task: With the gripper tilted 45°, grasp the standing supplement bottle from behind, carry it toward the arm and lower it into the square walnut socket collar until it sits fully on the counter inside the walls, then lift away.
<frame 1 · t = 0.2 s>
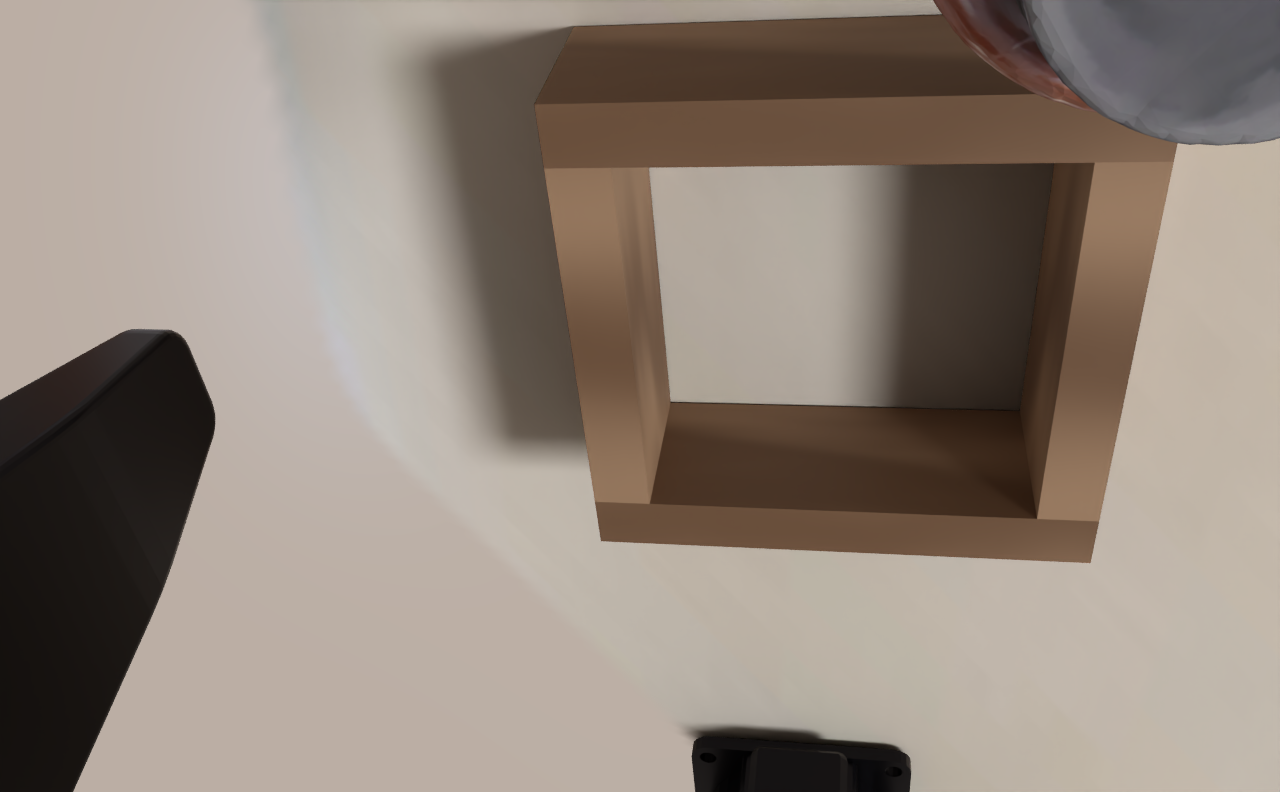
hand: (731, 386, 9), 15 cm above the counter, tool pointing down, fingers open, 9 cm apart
socket collar: (843, 259, 25), on the counter
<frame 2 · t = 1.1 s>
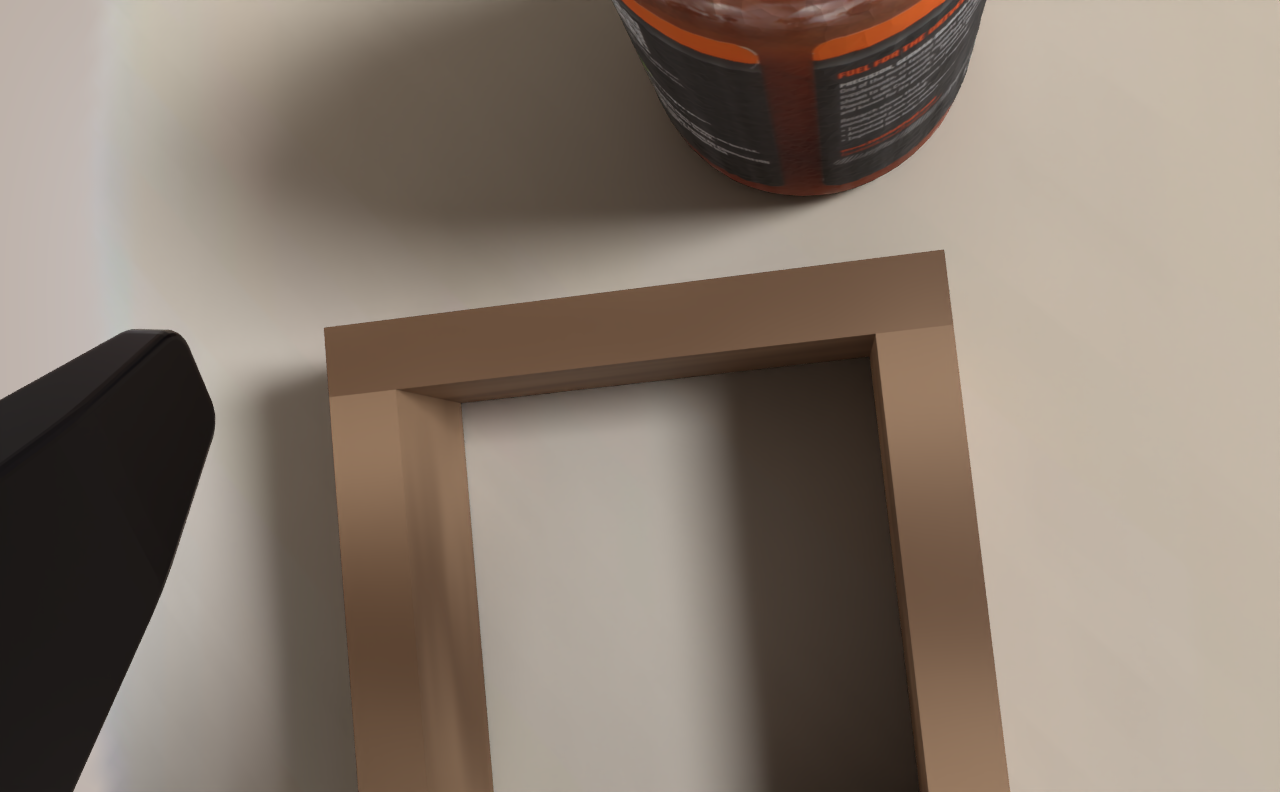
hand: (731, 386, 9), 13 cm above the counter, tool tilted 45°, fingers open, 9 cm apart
supplement bottle: (808, 56, 23), on the counter
socket collar: (680, 589, 22), on the counter
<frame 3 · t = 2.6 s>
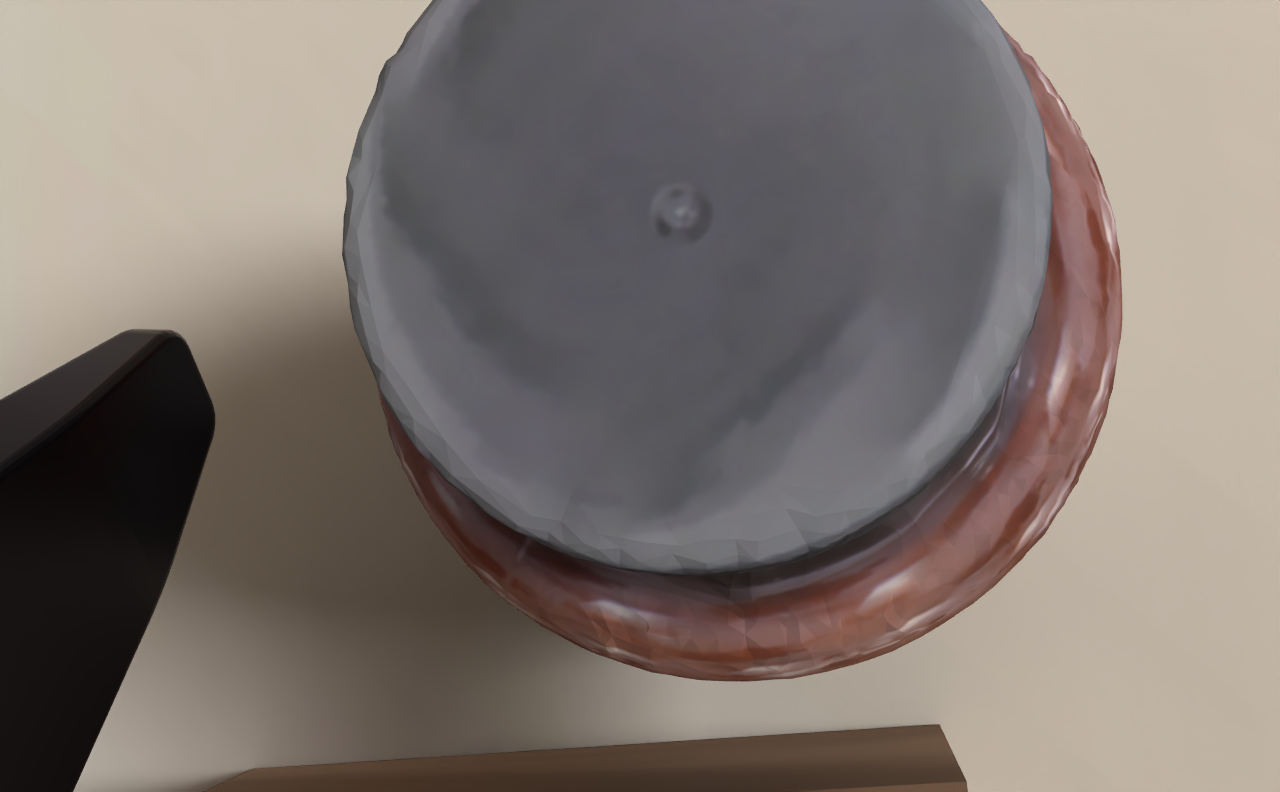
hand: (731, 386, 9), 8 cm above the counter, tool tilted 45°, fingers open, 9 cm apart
supplement bottle: (783, 402, 18), on the counter
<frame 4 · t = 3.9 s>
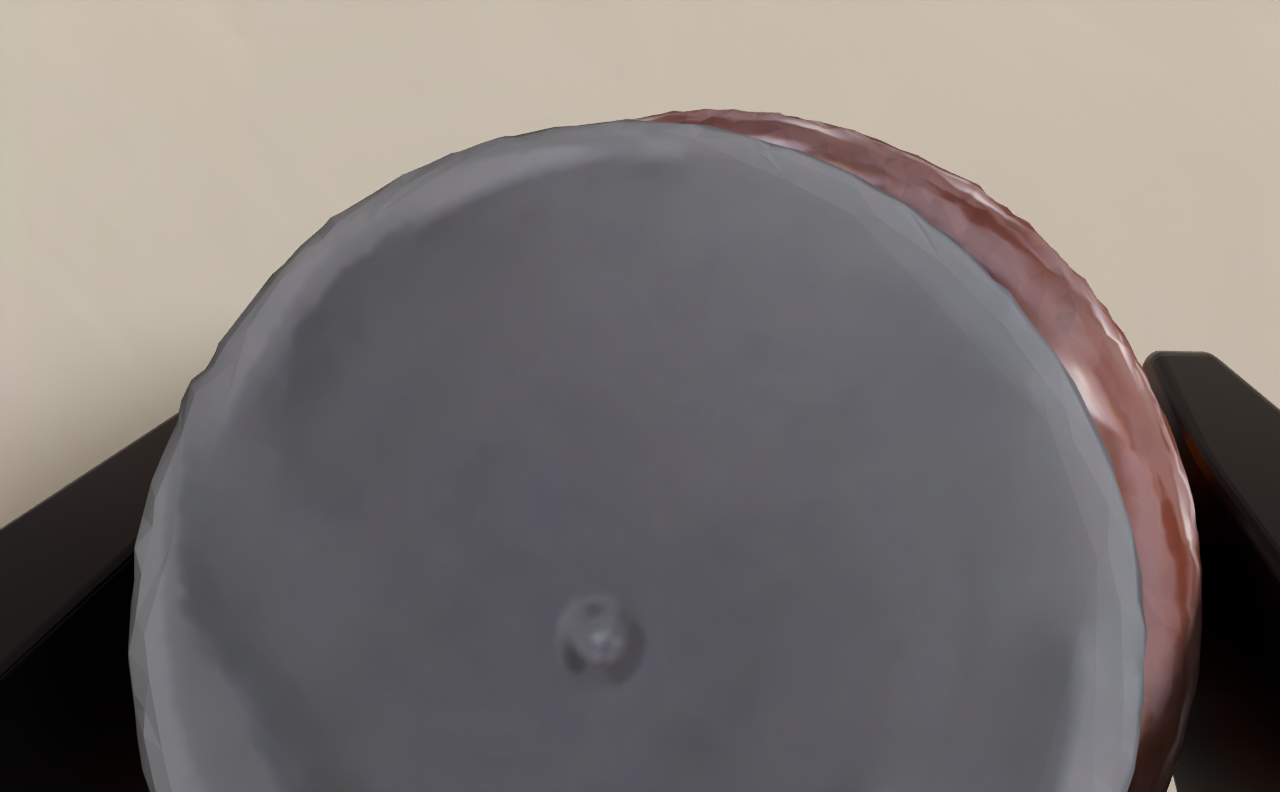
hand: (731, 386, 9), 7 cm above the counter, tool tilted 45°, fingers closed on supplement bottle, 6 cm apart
supplement bottle: (774, 537, 16), on the counter, touching gripper
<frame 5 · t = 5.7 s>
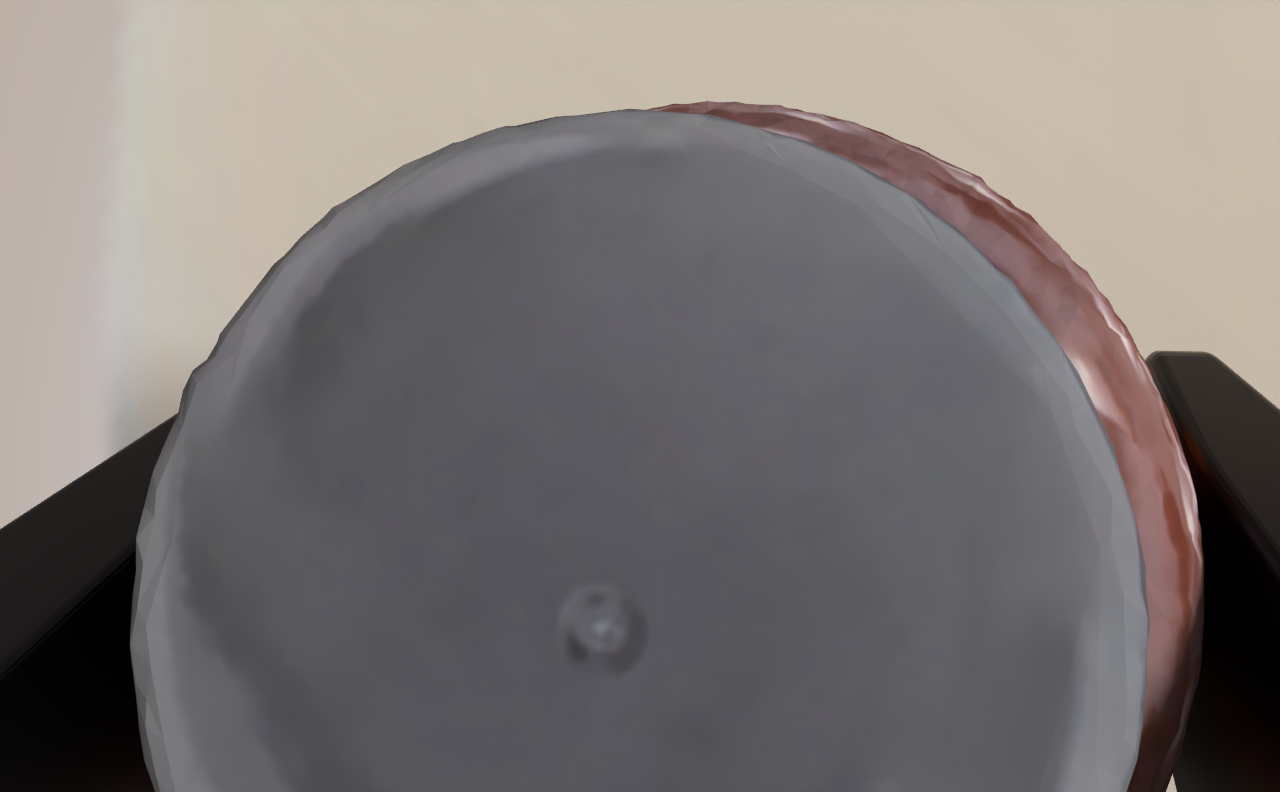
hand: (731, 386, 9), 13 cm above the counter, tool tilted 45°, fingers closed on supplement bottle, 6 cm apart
supplement bottle: (775, 532, 16), point 6 cm above the counter, touching gripper
when the fingers open (8 cm above the counter, at t = 7.9 s): supplement bottle drops 1 cm, resting in socket collar.
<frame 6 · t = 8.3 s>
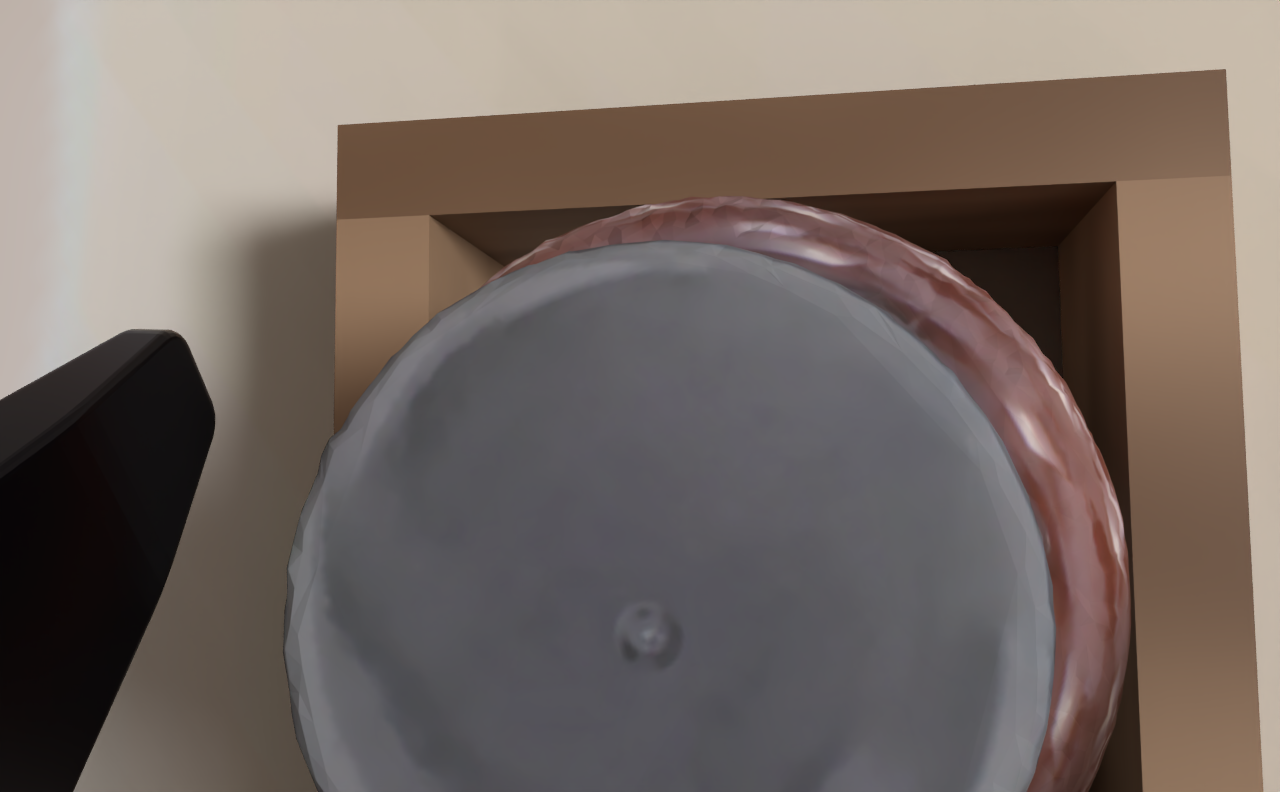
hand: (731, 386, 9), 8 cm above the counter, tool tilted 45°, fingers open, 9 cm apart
supplement bottle: (778, 546, 17), resting in socket collar
socket collar: (777, 533, 17), on the counter
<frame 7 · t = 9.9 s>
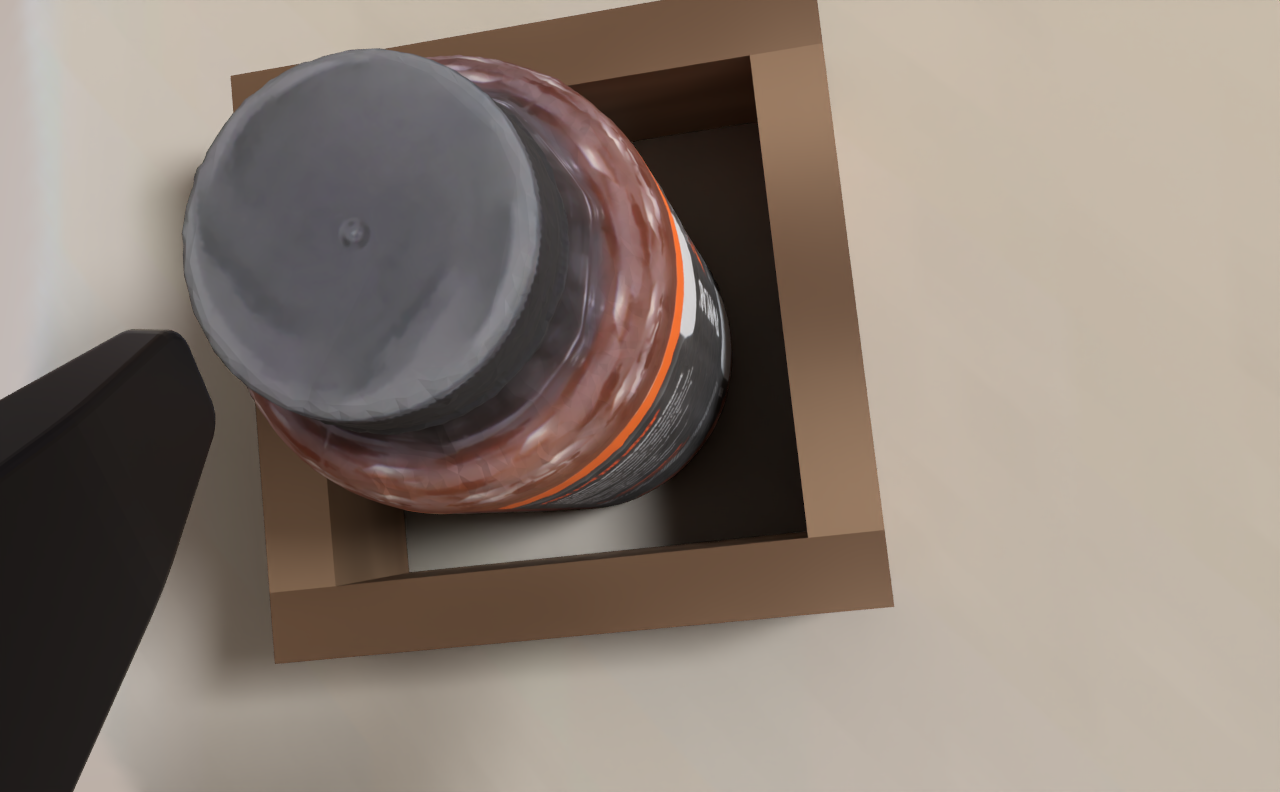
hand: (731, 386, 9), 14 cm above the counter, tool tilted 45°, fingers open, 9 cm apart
supplement bottle: (587, 359, 23), resting in socket collar
socket collar: (584, 348, 23), on the counter
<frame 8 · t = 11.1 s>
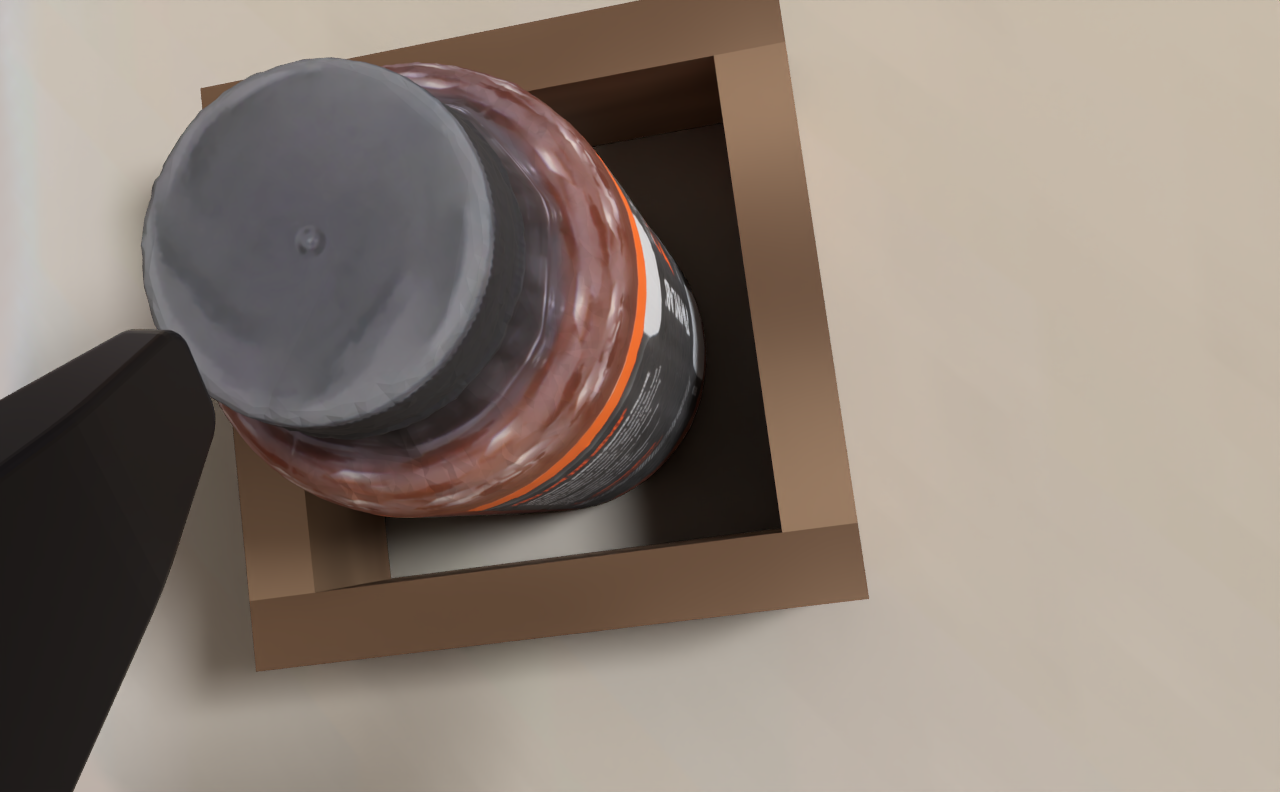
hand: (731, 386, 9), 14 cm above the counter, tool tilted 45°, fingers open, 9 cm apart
supplement bottle: (564, 362, 24), resting in socket collar
socket collar: (560, 351, 23), on the counter
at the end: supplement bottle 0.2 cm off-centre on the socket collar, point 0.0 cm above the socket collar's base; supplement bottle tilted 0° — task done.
